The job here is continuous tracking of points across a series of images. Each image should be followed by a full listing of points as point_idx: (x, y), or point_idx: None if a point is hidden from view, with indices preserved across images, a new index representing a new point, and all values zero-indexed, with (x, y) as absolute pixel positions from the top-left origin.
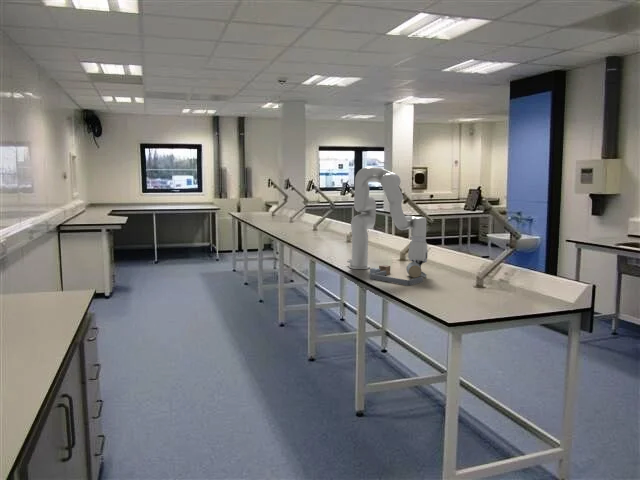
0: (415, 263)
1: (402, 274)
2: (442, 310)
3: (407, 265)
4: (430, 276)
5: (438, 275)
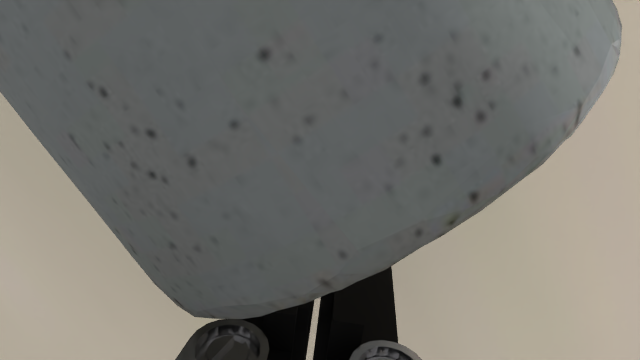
0: (94, 43)
1: (636, 62)
2: None
3: (611, 8)
4: (71, 220)
5: (47, 353)
